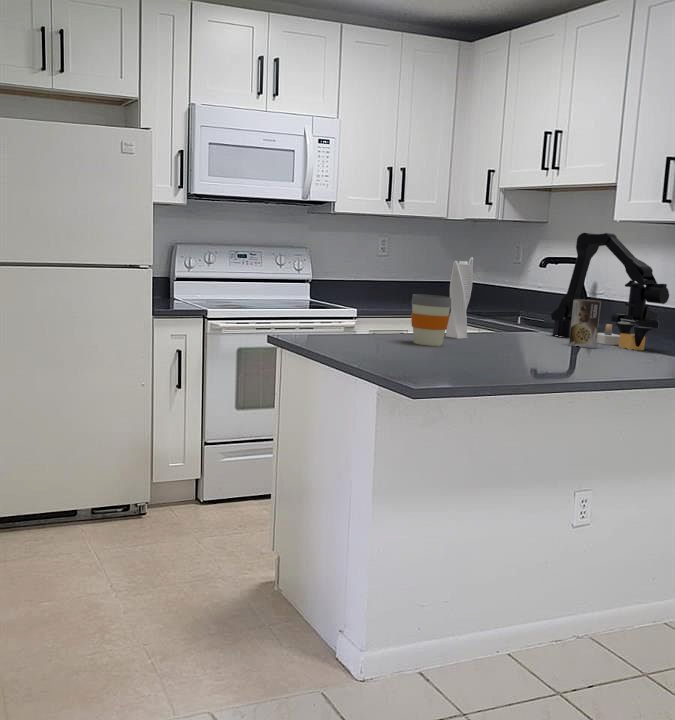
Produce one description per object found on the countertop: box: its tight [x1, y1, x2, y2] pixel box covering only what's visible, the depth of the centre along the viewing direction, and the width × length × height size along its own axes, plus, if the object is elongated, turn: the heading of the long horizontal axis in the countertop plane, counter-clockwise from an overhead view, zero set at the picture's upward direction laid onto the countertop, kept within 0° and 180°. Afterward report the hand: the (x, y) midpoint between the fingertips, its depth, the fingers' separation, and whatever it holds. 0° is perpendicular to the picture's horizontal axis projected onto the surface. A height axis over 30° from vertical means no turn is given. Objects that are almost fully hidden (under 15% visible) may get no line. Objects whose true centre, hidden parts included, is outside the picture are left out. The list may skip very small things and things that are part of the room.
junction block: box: [597, 323, 620, 346], centre depth 314 cm, size 10×10×7 cm
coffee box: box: [568, 298, 602, 349], centre depth 295 cm, size 9×6×16 cm
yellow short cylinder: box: [618, 333, 647, 351], centre depth 300 cm, size 6×6×5 cm
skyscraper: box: [444, 256, 474, 340], centre depth 292 cm, size 8×8×28 cm
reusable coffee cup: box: [410, 293, 451, 347], centre depth 268 cm, size 13×12×15 cm
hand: (631, 345), depth 300 cm, fingers closed on yellow short cylinder, 6 cm apart
